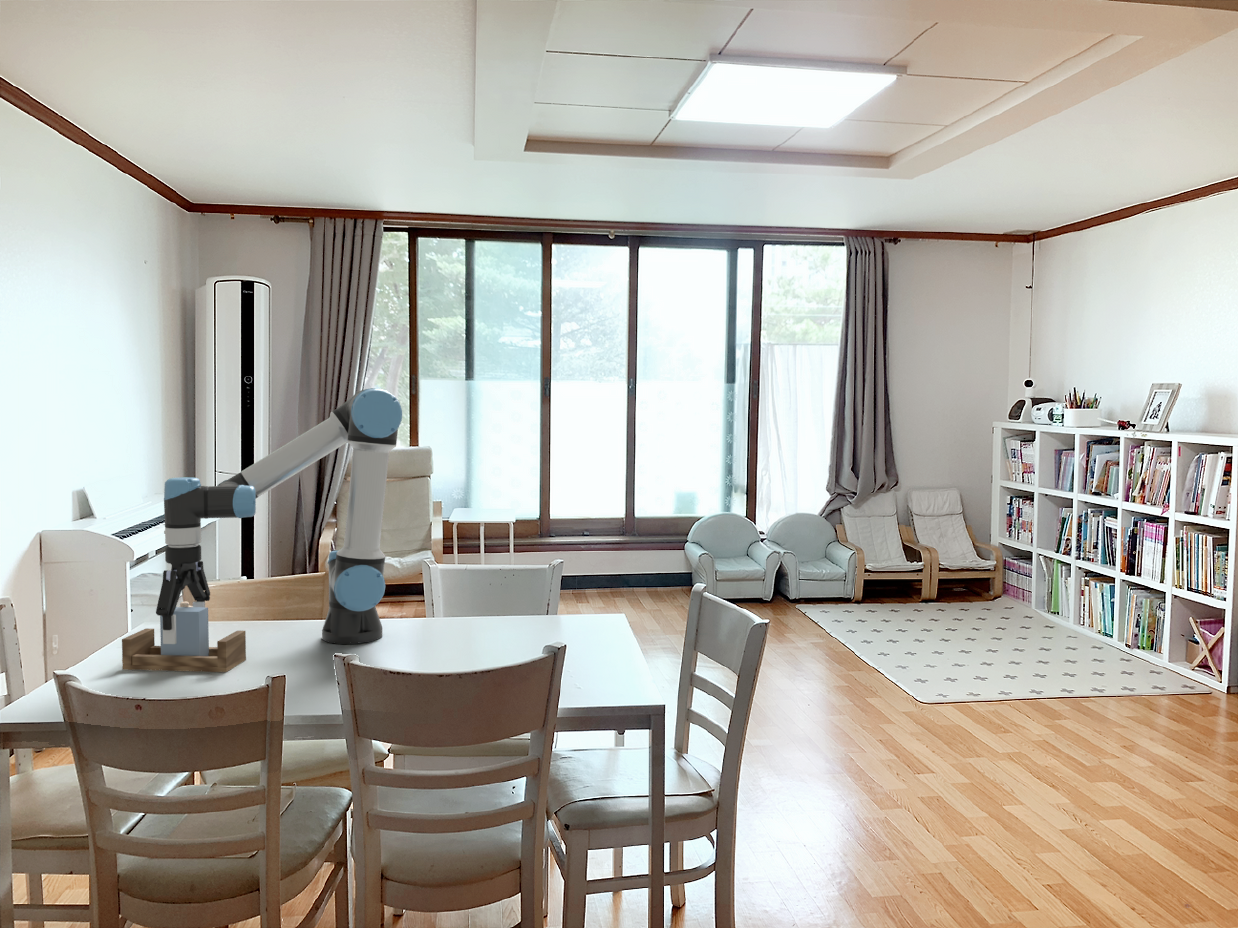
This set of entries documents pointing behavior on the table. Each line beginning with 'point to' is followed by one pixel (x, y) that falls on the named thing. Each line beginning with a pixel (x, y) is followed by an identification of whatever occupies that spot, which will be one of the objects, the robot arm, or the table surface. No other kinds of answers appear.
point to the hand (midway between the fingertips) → (185, 636)
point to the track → (147, 656)
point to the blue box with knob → (188, 633)
